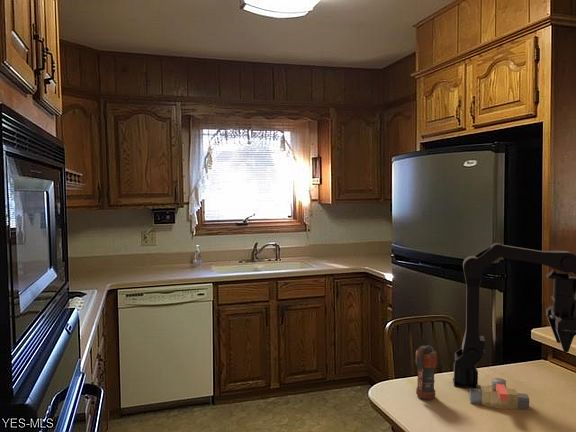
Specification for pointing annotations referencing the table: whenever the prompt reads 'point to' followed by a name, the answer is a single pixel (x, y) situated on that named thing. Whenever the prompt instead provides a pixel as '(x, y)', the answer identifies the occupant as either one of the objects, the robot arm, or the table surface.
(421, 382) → the grenade
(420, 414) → the table surface
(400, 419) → the table surface
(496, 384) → the lever
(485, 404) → the valve pipe
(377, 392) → the table surface
